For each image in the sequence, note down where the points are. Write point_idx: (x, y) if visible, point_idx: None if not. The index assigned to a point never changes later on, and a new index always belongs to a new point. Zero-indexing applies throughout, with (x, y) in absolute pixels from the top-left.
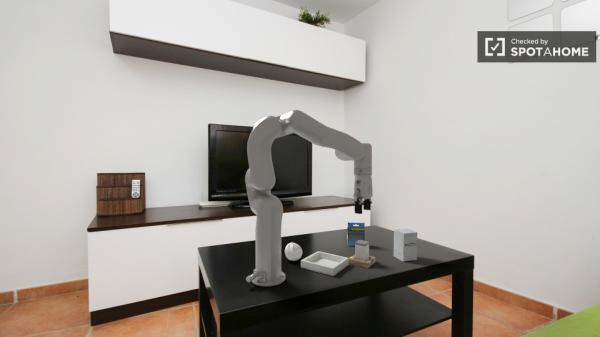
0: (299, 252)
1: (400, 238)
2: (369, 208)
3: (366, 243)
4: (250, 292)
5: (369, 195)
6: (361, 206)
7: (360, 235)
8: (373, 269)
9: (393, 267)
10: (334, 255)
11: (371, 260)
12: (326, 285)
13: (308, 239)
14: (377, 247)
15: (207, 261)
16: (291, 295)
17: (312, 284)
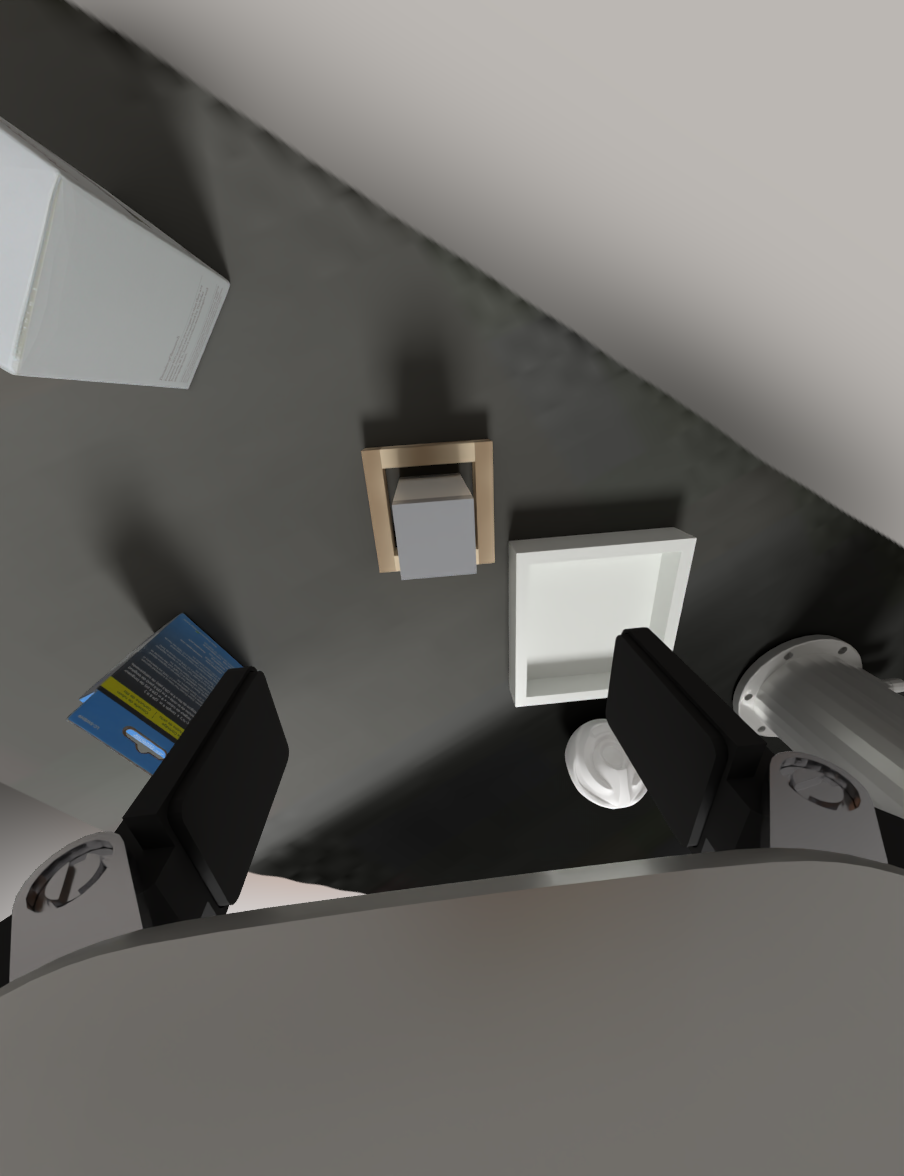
0: (604, 740)
1: (106, 268)
2: (251, 692)
3: (448, 500)
4: (896, 659)
5: (445, 1054)
6: (731, 712)
7: (164, 671)
8: (487, 405)
9: (379, 308)
10: (525, 624)
11: (436, 446)
12: (770, 500)
13: (328, 834)
14: (123, 548)
15: None
16: (888, 553)
17: (779, 548)
